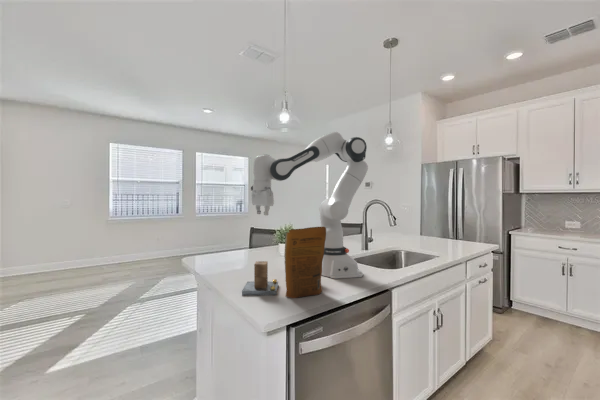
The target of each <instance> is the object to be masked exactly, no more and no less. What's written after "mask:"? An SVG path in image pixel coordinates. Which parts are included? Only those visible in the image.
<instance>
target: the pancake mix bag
mask: <svg viewBox="0 0 600 400" xmlns="http://www.w3.org/2000/svg"><path fill="white" fill-rule="evenodd" d="M325 240H326V227H321V226H312V227H304V228H292V229H288V232H285V239H284V241H285V243H284V271H285V272H284V273H285V288H286V291H285V297H286V298H290V299H298V298H305V297H310V296H318V295H321V294H322V292H323V288H322V275H321V274H322V261H323V256H324V248H325Z"/></svg>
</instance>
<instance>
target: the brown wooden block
mask: <svg viewBox="0 0 600 400" xmlns="http://www.w3.org/2000/svg"><path fill="white" fill-rule="evenodd" d="M253 265H254V268H253V269H254V280H253V282H254V288H266V287H267V284H268V282H269V281H268V277H269V275H268V261H266V260H265V261H262V260H261V261H259V260H258V261H255V262H254V264H253Z"/></svg>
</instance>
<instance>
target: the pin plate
mask: <svg viewBox="0 0 600 400" xmlns="http://www.w3.org/2000/svg"><path fill="white" fill-rule="evenodd" d="M278 288H279V281H278V280H277V279H276V278H274V279H272V281H268V284H267V287H266V288H254V281H247V282H246V283H245V285H244V286H243V288H242V289H241V295H242V296H277V294H278Z"/></svg>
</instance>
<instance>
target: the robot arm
mask: <svg viewBox="0 0 600 400" xmlns="http://www.w3.org/2000/svg"><path fill="white" fill-rule="evenodd" d="M366 154H367V142H366V141H365V140H364V139H363V138H362V137H357V136H355V137H351V138H349V139H345V138H344V137H343V135H342V134H341V133H339V132H338V131H332V132H329V133H326V134H324V135H321V136H320V137H317V138H316V139H314V140H312V142H311V143H309V144H308V145H307V146H306V147H305V148H304V149H303V150H302V151H299V152H298V153H296V154H294V155H292V156H290V157H286V158H278V159H275V158H274V157H272V156H271V155H270V154H259V155H257V156H256V157H255V158H254V160H253V171H252V172H253V176H254V177H253V182H252V183H253V184H252V185H251V186H250V191H251V204H252V205H253V206H255V211H256V214H257V215H261V214H262V210H261V206H262V207H264V211H263V215H264V216H269V211H270V207H274V204H275V200H274V192H273V190H272V180H275V181H279V182H282V181H285V180H287V179H289V178H290V176H292V174H293V173H294V171H296V170H297V169H299V168H302V167H303V166H304V165H306V164H309V163H311V162H316V163H317V162H320V161H322V160H325V159H327V158H329V157H331V156H333V155H335V156H337V157H338V158H339V160H340V161H341V162H343V163H346V168H345V169H344V171H343V172H342V174H341V175H340V176H339V179H338V180H337V181H336V184H335V185H334V189H333V191H332V194H331V196H330V198H325V199H324V200H323V201H321V203H320V204H319V207H318V210H319V217H320V218H319V219H320V227H326V240H325V248H324V256H323V261H322V274H321V276H323V277H328V278H331V279H349V278H352V279H353V278H362V277H363V275H364V274H363V271H362V270H361V269H359V266H358V262H357V261H356V260H355V259H354V258H353V257H351V255H349V254H348V253H350V249H349V248H347V247H346V246H344V229H343V226H342V220H344V219H346V217H347V216H348V214H349V208H350V205H351V203H352V201H353V198H354V196H355V194H356V193H357V191H358V190H359V189H360V187H361V185H362V183H363V181H364V179H365V177H366V175H367V173H368V169H369V165H368V164H367V162H366V161H365V159H366Z"/></svg>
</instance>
